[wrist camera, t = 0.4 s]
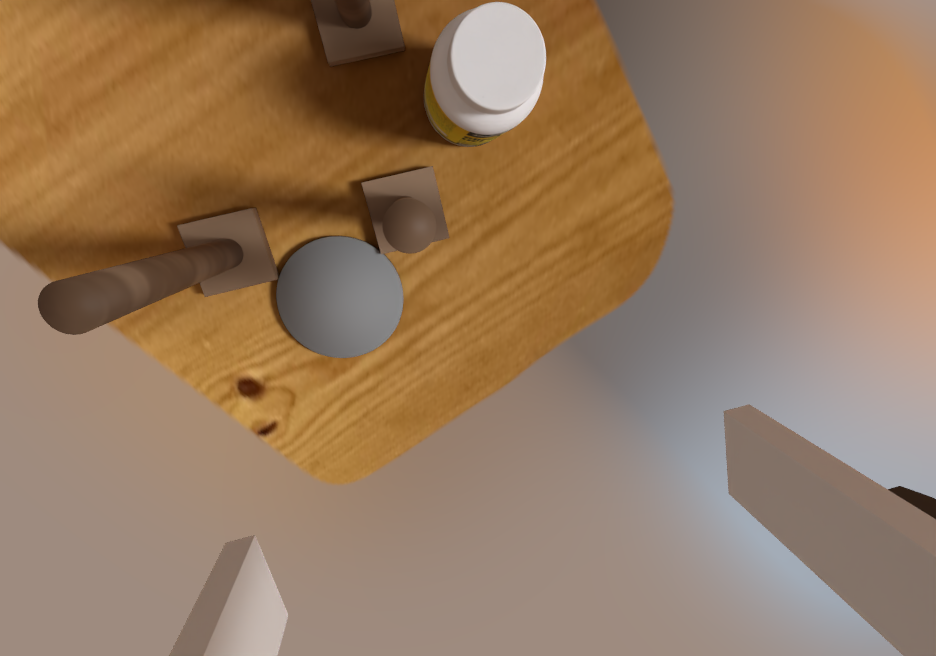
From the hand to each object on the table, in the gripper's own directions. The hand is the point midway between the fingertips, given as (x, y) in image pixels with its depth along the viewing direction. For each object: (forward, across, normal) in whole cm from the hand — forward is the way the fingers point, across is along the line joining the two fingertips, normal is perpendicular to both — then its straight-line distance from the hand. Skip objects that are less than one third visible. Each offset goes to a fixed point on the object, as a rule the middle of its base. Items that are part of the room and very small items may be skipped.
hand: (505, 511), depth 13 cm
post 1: (+25, -13, +7) cm, 29 cm away
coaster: (+25, -7, +2) cm, 26 cm away
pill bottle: (+25, +5, +14) cm, 29 cm away
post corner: (+25, -1, +7) cm, 26 cm away
